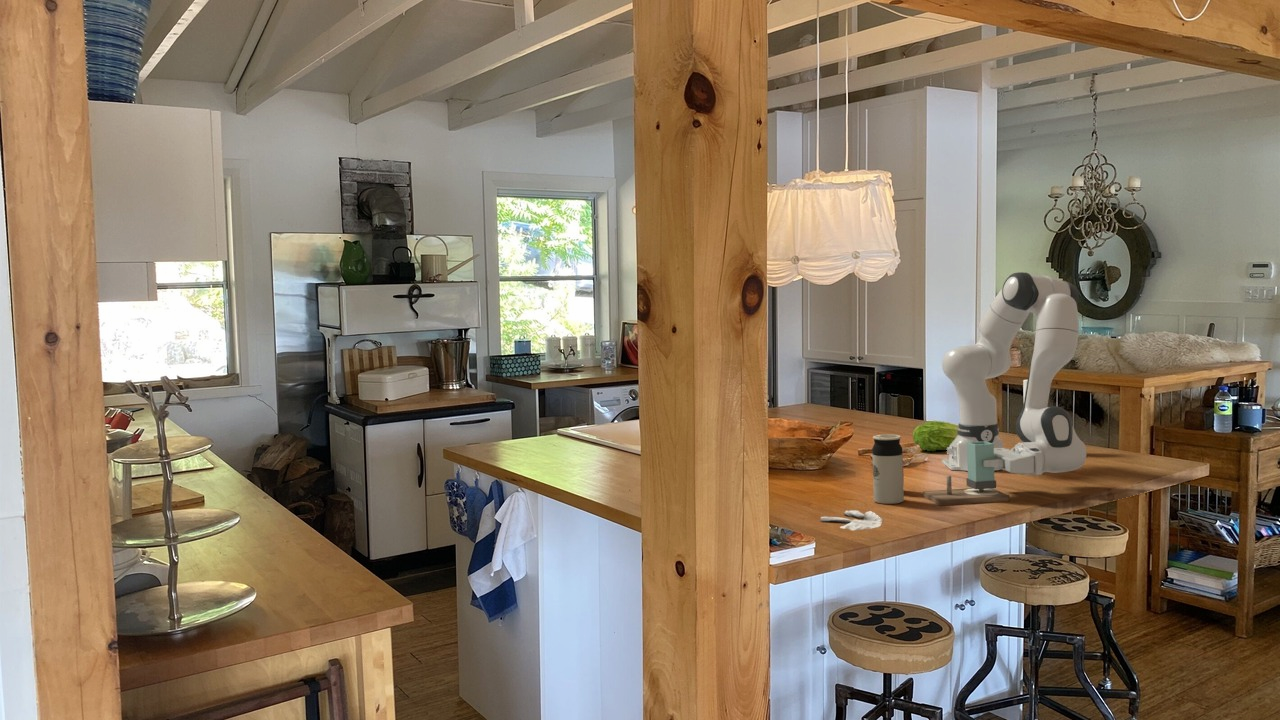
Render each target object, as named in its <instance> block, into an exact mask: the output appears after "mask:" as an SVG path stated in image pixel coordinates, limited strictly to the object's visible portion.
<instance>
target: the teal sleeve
mask: <svg viewBox="0 0 1280 720" xmlns="http://www.w3.org/2000/svg"><path fill="white" fill-rule="evenodd" d="M982 460H994V444H992V443H989V442H986V441H982V442H967V464H968V471H967V477H965V478H966V487H968V488H974V489H990V488H993V489H997V480H995V478H996V476H995V471H994V467H984V466H982Z"/></svg>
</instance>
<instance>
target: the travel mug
mask: <svg viewBox="0 0 1280 720" xmlns="http://www.w3.org/2000/svg"><path fill="white" fill-rule="evenodd" d="M872 439H873V440H874V444H873V446H872V449H871V450H872V453H871V454H872V457H871V458H872V482H873V485H872V486H873V487H872V490H873V501H874V502H875V503H877V504H882V505H896V504H901V503H902V502H904V501H905V500H904V486H903V474H904V457H902V456H903V447H902V446H901V443H900V442H901V439H902V436H901V435H900V434H899V435H898V434H876V435H873V436H872Z"/></svg>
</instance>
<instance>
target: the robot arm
mask: <svg viewBox="0 0 1280 720" xmlns="http://www.w3.org/2000/svg"><path fill="white" fill-rule="evenodd" d="M1079 296H1080V295H1079V289H1078V288H1077V286H1075V285H1074V284H1073V283H1071V282H1069V281H1066V280H1061V279H1058V278H1055V277H1053V276H1052V277H1051V276H1049V275H1041V274H1035V273H1034V274H1033V273H1028V272H1023V271H1022V272H1019V271H1018V272H1013V273H1012V274H1010V275H1008V277H1007V278H1006V279H1005V281H1004V282H1003V286H1002V288H1001V289H1000V290H999V292H998V293H997V294H996V296H995V297H994V298H993V300H992V301H991V304H990V305H989V306H988V308H987V309H986V312H985V313H984V314H983V317H982V318H981V320H980V321H979V325H978V330H979V332H980V337H979V339H978V341H977V342H976V343H975V344H972V345H964V346H958V347H956V348H953V349H950V350H949V351H947V352H946V353H945V355H944V356H943V358H942V360H941V367H942V371H943V373H944V375H945V376H946V378H948V379H949V380H950V381H951V383H952V384H953V387H954V389H955V392H956V395H957V398H958V407H959V410H958V411H959V423H958V424H957V425H958V432H957V434H958V436H957V437H956V438H955V440H954V441H953V442H952V443H951V444H950V446H949V447H947V451H946V454H947V455H948V457H946V458H943V459H941V463H942V464H943V465H944V466H946V467H947V468H948V469H949V470H952V471H965V472H966V471H967V472H968V464H967V442H982V441H986V442H989V443H992V444H994V460H982V466H984V467H994V472H995V471H1000V470H1003V471H1006V472H1008V473H1011V474H1019V475H1021V476H1025V475H1026V476H1030V475H1032V476H1042V475H1043V474H1044V473H1053V474H1055V473H1057V474H1058V473H1066V472H1072V471H1075V470H1079V469H1080V468H1081V467H1082V466H1083V465H1084V464H1085V463H1086V459H1087V447H1086V444H1085V443H1084V442H1083V441H1082V440H1081V439H1080V438H1079V436H1078V435H1077V432H1076V430H1075V428H1074V426H1073V420H1072V417H1071V415H1070V413H1069V412H1068V411H1067V410H1066V409H1064V408H1063V407H1060V406H1054V405H1053V406H1049V407H1048V405H1049V404H1048V403H1049V397H1050V392H1051V385H1052V383H1053V379H1054V377H1055V376H1056V375H1057V374H1058V372H1059V371H1060V370H1061V369H1063V367H1064V366H1066V365H1067V364H1068V363H1070V361H1071V360H1072V359H1073V358H1074V357H1075V354H1076V351H1077V349H1078V347H1077V346H1078V342H1079V327H1080V326H1079V313H1078V304H1079V299H1080V297H1079ZM1030 313H1032V314H1035V316H1036V324H1035V335H1034V337H1035V338H1034V345H1033V353H1032V358H1031V362H1030V366H1029V371H1028V375H1027V379H1028V381H1027V387H1026V393H1025V400H1024V399H1023V404H1022V405H1023V406H1022V408H1021V411H1020V413H1019V415H1018V416H1017V418H1016V422H1015V431H1016V434H1017V436H1018V438H1019V439H1020V441H1022V442H1018V443H1016V444H1015V445H1014V447H1011V449H1009V448H1005V447H1004V443H1003V440H1002V439H1000V437H999V434H1000V432H999V431H1000V427H999V423H998V417H997V416H998V415H997V412H998V411H997V399H996V396H994V395H993V394H991V392H990V391H989V389H988V386H987V381H986V380H988V379H995V378H997V377H999V376H1001V375H1004V374H1006V373H1007V372H1008V371H1009V370H1010V368H1011V366H1012V357H1011V353H1010V350H1011V346H1012V345H1013V342H1014V339H1015V338H1016V336H1017V335H1018V333H1019V331H1020V330H1021V328H1022V327H1023V325H1024V323H1025V322H1026V320H1027V318H1028V317H1029V314H1030Z"/></svg>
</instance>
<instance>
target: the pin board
mask: <svg viewBox="0 0 1280 720" xmlns="http://www.w3.org/2000/svg"><path fill="white" fill-rule="evenodd" d="M952 488H953V487H952V476H951V475H946V489H941V490H940V489H939V490H938V489H937V490H924V491H923V498H926V499H928V500H929V501H931V502H933V503H934V504H936V505H939V506H954V505H956V506H957V505H968V504H969V505H971V503H972V504H984V503H997V502H1010V495H1009V494H1007V493H1004V492H1002V491H999V490H997V489H996V488H990V489H974V488H971V487H968V488H954V489H952Z"/></svg>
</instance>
